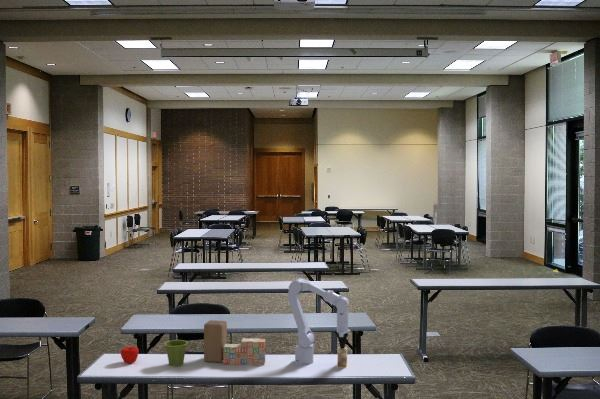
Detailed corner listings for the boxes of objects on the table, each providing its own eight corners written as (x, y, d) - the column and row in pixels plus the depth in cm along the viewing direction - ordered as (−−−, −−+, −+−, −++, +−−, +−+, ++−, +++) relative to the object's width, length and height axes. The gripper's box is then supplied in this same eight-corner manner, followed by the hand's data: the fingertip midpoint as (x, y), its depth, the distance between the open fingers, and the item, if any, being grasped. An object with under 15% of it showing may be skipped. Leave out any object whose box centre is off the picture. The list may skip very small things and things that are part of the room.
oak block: (337, 366, 291) (337, 357, 291) (338, 364, 296) (338, 355, 296) (346, 367, 290) (346, 358, 290) (347, 364, 295) (347, 355, 295)
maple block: (337, 357, 291) (337, 349, 291) (338, 355, 295) (338, 346, 295) (346, 358, 290) (346, 349, 290) (347, 355, 295) (347, 347, 295)
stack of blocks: (223, 364, 296) (223, 341, 296) (225, 361, 302) (225, 338, 302) (264, 365, 296) (264, 341, 296) (265, 361, 302) (265, 338, 302)
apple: (121, 366, 293) (121, 350, 293) (119, 361, 301) (119, 346, 301) (139, 363, 297) (139, 348, 297) (137, 359, 305) (137, 344, 305)
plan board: (319, 372, 283) (319, 371, 283) (322, 363, 299) (322, 362, 299) (347, 374, 281) (347, 373, 281) (349, 364, 296) (349, 363, 296)
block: (203, 362, 300) (203, 324, 300) (209, 356, 310) (209, 319, 310) (221, 363, 299) (221, 324, 298) (227, 357, 309) (227, 320, 308)
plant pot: (163, 362, 300) (163, 340, 299) (186, 360, 303) (186, 339, 303) (165, 369, 288) (165, 346, 288) (189, 366, 292) (189, 344, 292)
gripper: (349, 324, 285) (349, 352, 285) (351, 318, 299) (351, 344, 299) (335, 324, 286) (335, 351, 286) (337, 317, 300) (337, 343, 300)
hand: (342, 347), depth 293 cm, fingers closed
